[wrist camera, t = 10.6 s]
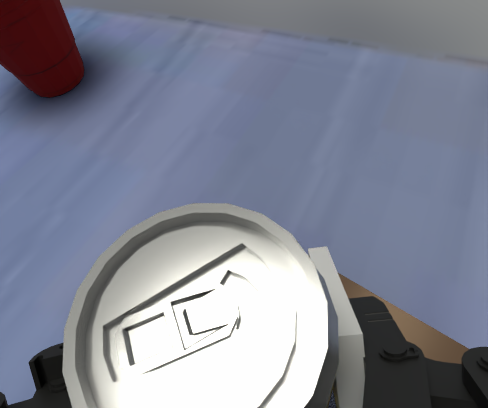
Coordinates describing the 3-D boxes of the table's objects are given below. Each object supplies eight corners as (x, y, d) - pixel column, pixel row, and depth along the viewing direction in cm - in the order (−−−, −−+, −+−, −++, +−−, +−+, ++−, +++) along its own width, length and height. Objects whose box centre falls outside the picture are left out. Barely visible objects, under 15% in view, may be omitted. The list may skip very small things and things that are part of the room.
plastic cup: (-9, 85, 43) (-108, -28, 33) (76, 33, 46) (9, -85, 35) (33, 135, 37) (-70, 19, 27) (125, 73, 40) (64, -53, 30)
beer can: (227, 495, 16) (66, 569, 6) (188, 362, 19) (38, 252, 8) (350, 437, 16) (409, 408, 6) (293, 315, 19) (268, 158, 9)
